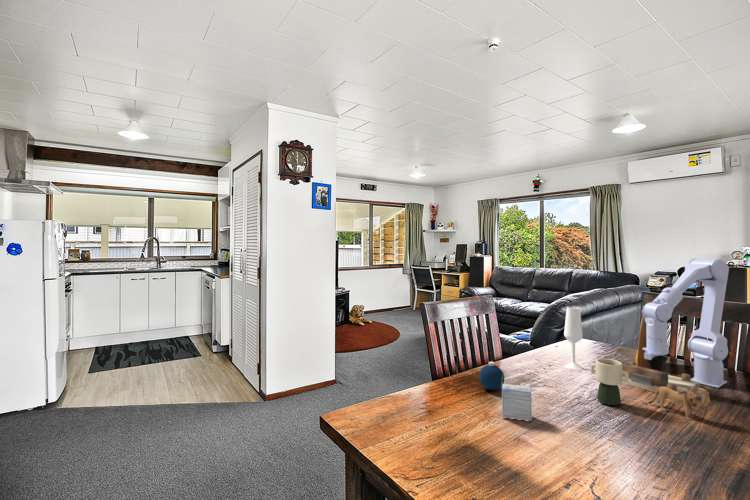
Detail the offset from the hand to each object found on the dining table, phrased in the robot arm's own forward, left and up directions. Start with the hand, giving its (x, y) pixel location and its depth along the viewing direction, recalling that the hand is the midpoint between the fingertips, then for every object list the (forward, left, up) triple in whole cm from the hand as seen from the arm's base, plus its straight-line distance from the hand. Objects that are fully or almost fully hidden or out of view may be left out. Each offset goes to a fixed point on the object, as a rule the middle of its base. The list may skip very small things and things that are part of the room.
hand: (656, 376), depth 130 cm
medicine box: (+60, -12, -4) cm, 62 cm away
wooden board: (+2, -3, -2) cm, 4 cm away
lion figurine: (+19, +13, -4) cm, 23 cm away
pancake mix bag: (-25, -11, -4) cm, 27 cm away
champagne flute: (+3, -27, -4) cm, 28 cm away
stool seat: (-3, -2, -3) cm, 5 cm away
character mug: (+28, -2, -4) cm, 29 cm away
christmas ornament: (+49, -30, -4) cm, 58 cm away
